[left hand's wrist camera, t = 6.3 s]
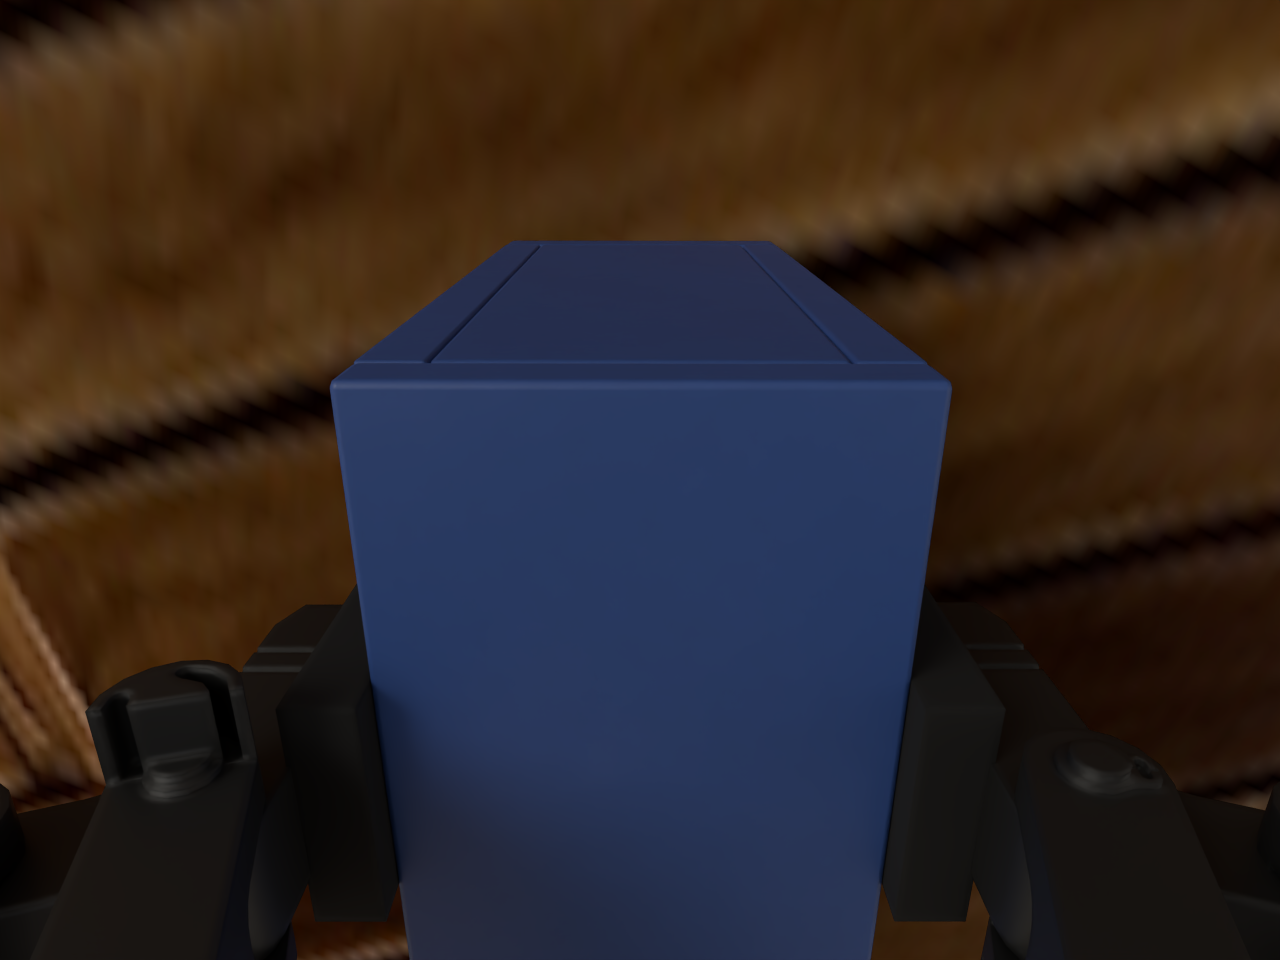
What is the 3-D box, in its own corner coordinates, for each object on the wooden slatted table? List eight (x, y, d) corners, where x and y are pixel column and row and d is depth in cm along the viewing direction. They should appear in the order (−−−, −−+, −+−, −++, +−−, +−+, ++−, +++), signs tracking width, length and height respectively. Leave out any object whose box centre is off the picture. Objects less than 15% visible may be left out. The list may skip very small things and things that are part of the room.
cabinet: (733, 923, 25) (798, 1478, 14) (547, 922, 25) (480, 1478, 14) (771, 240, 17) (956, 381, 7) (510, 240, 17) (324, 380, 7)
